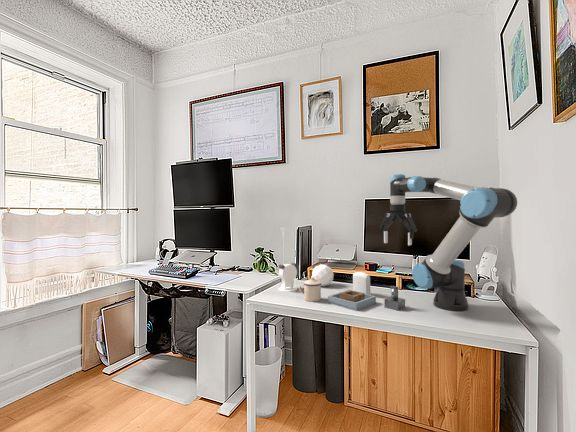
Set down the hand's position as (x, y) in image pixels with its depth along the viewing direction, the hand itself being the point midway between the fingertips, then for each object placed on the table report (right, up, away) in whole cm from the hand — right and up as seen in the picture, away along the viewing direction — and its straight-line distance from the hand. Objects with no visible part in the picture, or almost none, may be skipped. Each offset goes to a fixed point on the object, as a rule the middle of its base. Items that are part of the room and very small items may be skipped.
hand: (397, 244), depth 168 cm
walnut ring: (-26, -28, -8) cm, 39 cm away
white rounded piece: (-58, -29, +20) cm, 68 cm away
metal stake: (-7, -29, -15) cm, 34 cm away
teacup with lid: (-47, -29, -1) cm, 55 cm away
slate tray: (-26, -29, -8) cm, 40 cm away
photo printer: (-17, -29, +8) cm, 34 cm away
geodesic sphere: (-37, -28, +28) cm, 54 cm away
